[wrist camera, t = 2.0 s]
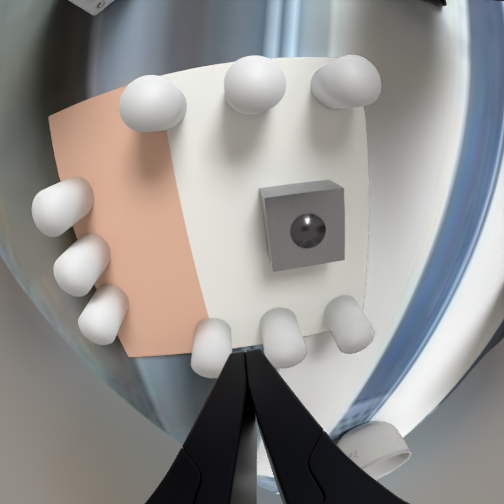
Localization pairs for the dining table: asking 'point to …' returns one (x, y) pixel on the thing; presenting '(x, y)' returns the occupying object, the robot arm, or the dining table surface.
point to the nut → (304, 224)
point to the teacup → (375, 448)
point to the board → (211, 207)
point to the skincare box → (92, 5)
